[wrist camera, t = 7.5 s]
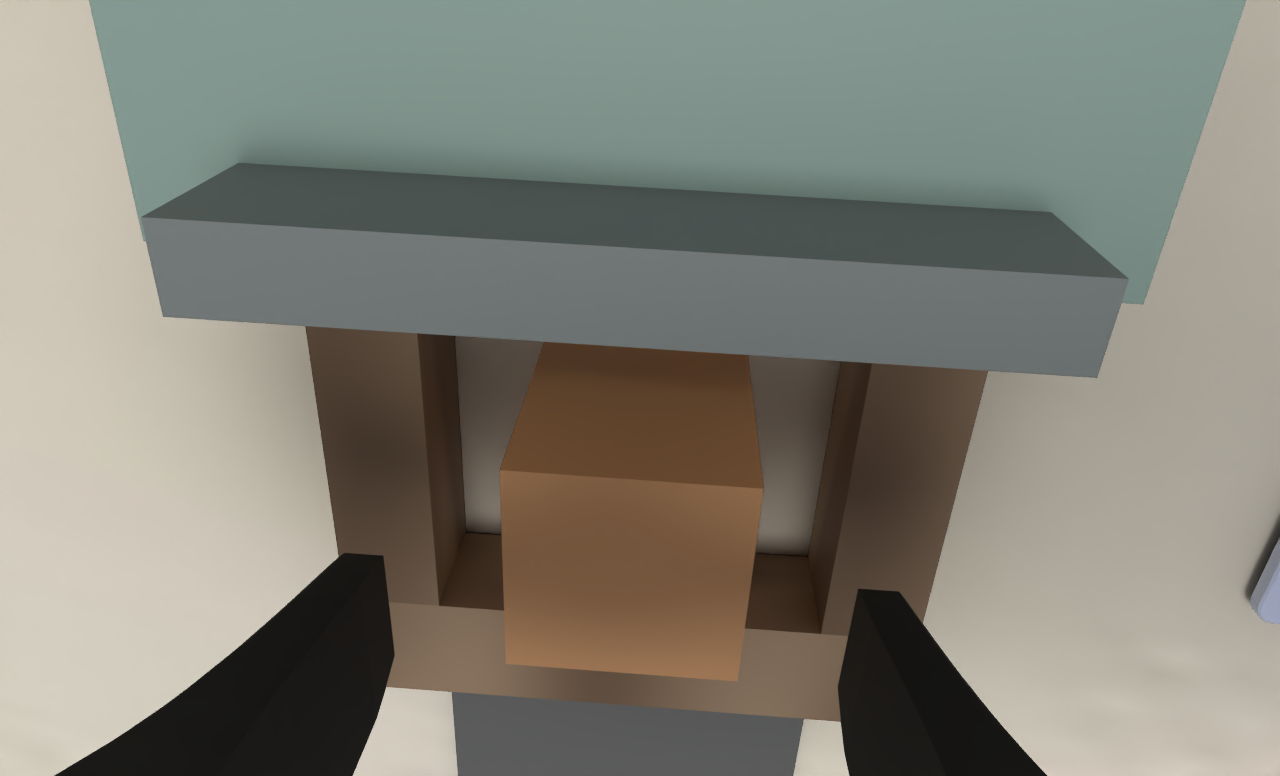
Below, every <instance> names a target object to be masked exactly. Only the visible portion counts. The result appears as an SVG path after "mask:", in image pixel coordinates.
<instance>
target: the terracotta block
mask: <svg viewBox="0 0 1280 776" xmlns="http://www.w3.org/2000/svg"><path fill="white" fill-rule="evenodd" d="M763 492H764V485H763V477H762V468H761V460H760V452H759V443H758V435H757V426H756V418H755V409H754V401H753V393H752V384H751V376H750V367H749V359H748V355H740V354H725V353H710V352H694V351H679V350H664V349H649V348H633V347H618V346H603V345H588V344H572V343H557V342H544V344H543V347H542V350H541V353H540V356H539V359H538V362H537V364H536V367H535V370H534V373H533V376H532V379H531V382H530V384H529V387H528V390H527V393H526V396H525V399H524V402H523V405H522V407H521V410H520V413H519V416H518V419H517V422H516V425H515V428H514V430H513V433H512V436H511V439H510V442H509V445H508V448H507V450H506V453H505V456H504V459H503V462H502V465H501V468H500V498H501V530H502V561H503V593H504V625H505V656H506V664H513V665H526V666H540V667H553V668H566V669H579V670H592V671H605V672H619V673H632V674H645V675H658V676H671V677H684V678H697V679H711V680H724V681H738V674H739V667H740V660H741V652H742V645H743V638H744V630H745V623H746V616H747V609H748V601H749V594H750V587H751V579H752V572H753V565H754V557H755V550H756V543H757V536H758V528H759V521H760V514H761V506H762V499H763Z"/></svg>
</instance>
